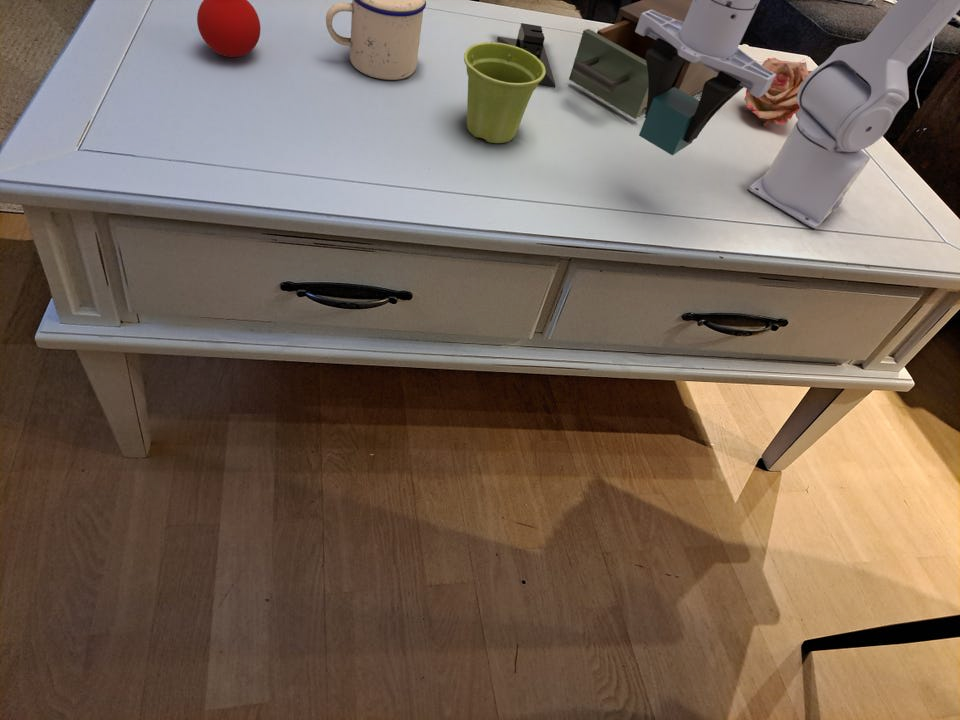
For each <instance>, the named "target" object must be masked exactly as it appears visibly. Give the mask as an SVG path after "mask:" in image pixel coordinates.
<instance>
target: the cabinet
mask: <svg viewBox="0 0 960 720" xmlns="http://www.w3.org/2000/svg"><path fill="white" fill-rule="evenodd" d="M692 1H693V0H640V1H639V0H638V1H636V2H633V3H630V4H628V5H625V6H622V7H620V8H619V11H618V13H617V16H616V19H615V22H614V24H616V23H619V22H621V21H624V20H627V19H629V20H631V21H633V22H634V23H636V24H638V22H639V19H640V16H641V13H644V12H646V11H649V10H654V11H656V12H658V13H660V14H662V15H665V16H667V17H670V18H673V19H676V20H679V21H681V22H684V20H685V18H686V15H687V13H688V10H689V8H690V6H691V3H692ZM717 75H718V73H716V72H715V71H713V70H711V69H709V68H707V67H705V66H703V65H701V64H700V63H698V62H696V63H692V62H690V61H688V60H686V61H685V63H684V65H683V68H682V70H681V72H680V75H679V77H678V79H677V82H676V84H675V88H677V89H679V90H681V91H682V92H684V93H686V94H688V95H690V96H691V97H694V96H695V95H697V94H699V93H702V91H703V86H704V84H705V82H706V81H708V80H709V79H711V78H713V77H716V76H717Z"/></svg>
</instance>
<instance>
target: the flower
mask: <svg viewBox="0 0 960 720" xmlns="http://www.w3.org/2000/svg"><path fill="white" fill-rule="evenodd" d="M761 66H763V67H764V68H766V69H767V70H769V71H771V72H773V73H775V74H776V76H775V78H774V80H773V82H772V84H771V86H770V87H769V89H768V91H767V93H766V94H764V95H763V96H761V97H759V98H757V97H755V96H753V95H751V94H750V93H749V92H750V90H748V89H746V88H745V97H744V99H743V100H744V102H745V105H746V108H744V109H743V110H744V111H751V113H753V114H754V115H756V116H757V117H758V118H759V119H764V120H767V121H766V122H765V123H764V124H763V127H765V128H767V126H768V125H769V124H770V123H772V124H773V123H775V124H777V125H781V126H783V125H784V124H785V125H788V124H789V122H788V120H791V119H792V118H793V117H794V115H796V113H797V112H798V110H799V108H800V107H799V105H798V103H797V94H798V91H799V88H800V86H801V84H802V83H803V81H804V80H805V78H806V77H807V76H808V75H809V74H810V73H811V72H812V71H813V70H809V69H808V67H807V61H804V62H802V61H801V62H799V61H796V62H795V61H788V60H781V59H778V58H776V57H771V58H769V57H767V59H765V60H764V61H763V63H762V64H761Z"/></svg>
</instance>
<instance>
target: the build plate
mask: <svg viewBox="0 0 960 720" xmlns="http://www.w3.org/2000/svg"><path fill="white" fill-rule="evenodd" d="M545 38H546V37H545V34H544V33H543V28H542V26H541V25H536V24H529V23H523V22H521V23H520V27H519V29H518V33H517V38H511V37H504V36H500V35H499V36H497V37H496V42H497V43H503V44H508V45H512V46H516V47H518V48H521V49H524V50H526V51H528V52H529V53H531V54H533V55H534V56H536V57H537V58H538V59H539V60H540V61H541V62H542V63H543V65H544V67H545V70H546V73H545V76H544V78H543V79H542V80H541V81H540V82H539V83H538V85H537V87H545V88H552V89H555V88H556V85H557V84H556V82H555V81H556V80H555V78H554V75H553V72H552V68H551V64H550V62H549V61H550V60H549V58H548V55H547V51H546V48H545V45H544V43H545V40H546V39H545Z"/></svg>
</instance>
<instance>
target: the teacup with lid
mask: <svg viewBox="0 0 960 720" xmlns="http://www.w3.org/2000/svg"><path fill="white" fill-rule="evenodd" d="M426 6H427V0H351V2H338V3H335V4H333V5H331V6H330V7H329V8H328V10H327V12H326V16H325V26H326V29H327V32H328V34H329V35H330V37H331V39H332V40H333V41H334V42H336V43H337V44H339V45H342V46H345V47H346V46H347V47H350V48H349V60H350V62H351V64H352V66H353V67H354V68H355V69H356V70H357V71H359V72H360V73H362V74H364V75H365V76H368V77H371V78H374V79H379V80H385V81H387V80H388V81H397V80H403V79H406V78H409V77H410V76H412V75H413V74H414V73H415V72H416V69H417V66H418V56H419V50H420V49H419V48H420V42H421V41H420V40H421V33H422V25H423V17H424V10H425V9H426V8H427V7H426ZM341 12H350V13H351V22H350V37H345V36H341V35H340V34H338V33H337V32H336V31H335V29H334V28H333V19H334V17H335V15H337V14H338V13H341Z"/></svg>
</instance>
